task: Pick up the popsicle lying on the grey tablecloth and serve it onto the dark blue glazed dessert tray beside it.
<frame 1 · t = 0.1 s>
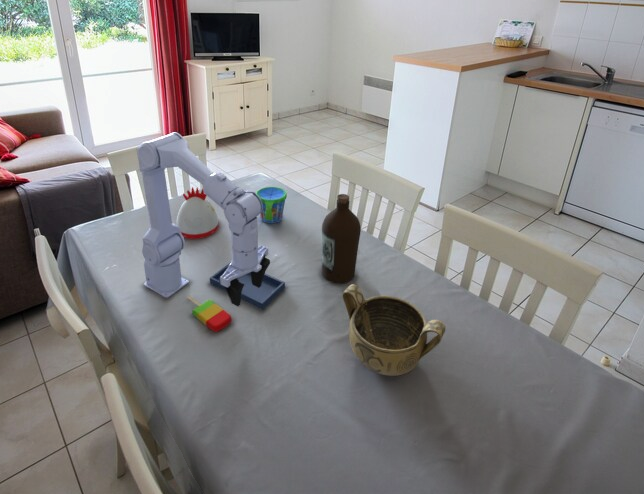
hand: (246, 294, 100), 10 cm above the table, tool pointing down, fingers open, 7 cm apart
ceramic bowl: (384, 359, 96), on the table
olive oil: (337, 274, 124), on the table
popsicle: (205, 313, 108), on the table
tray: (247, 285, 118), on the table
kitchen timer: (197, 227, 145), on the table
snack cup: (271, 219, 151), on the table
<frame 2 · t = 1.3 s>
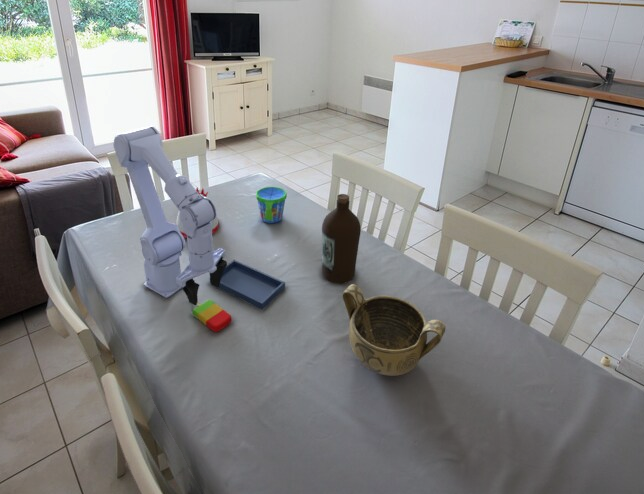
hand: (204, 294, 106), 6 cm above the table, tool pointing down, fingers open, 7 cm apart
nothing on the table moved.
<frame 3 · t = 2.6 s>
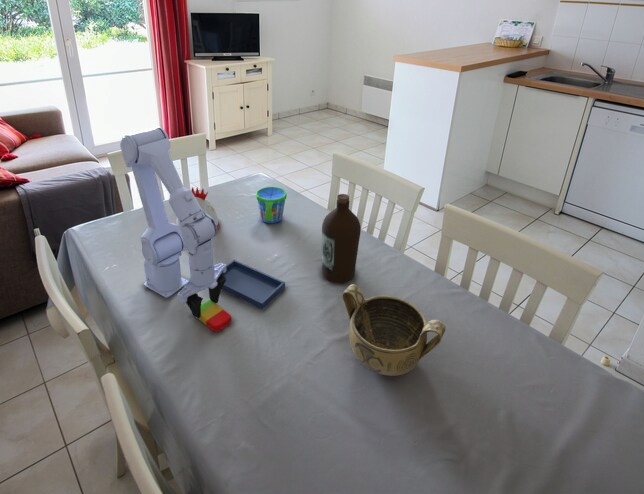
hand: (205, 308, 107), 1 cm above the table, tool pointing down, fingers closed on popsicle, 6 cm apart
popsicle: (205, 313, 108), on the table, touching gripper
everything else where it was.
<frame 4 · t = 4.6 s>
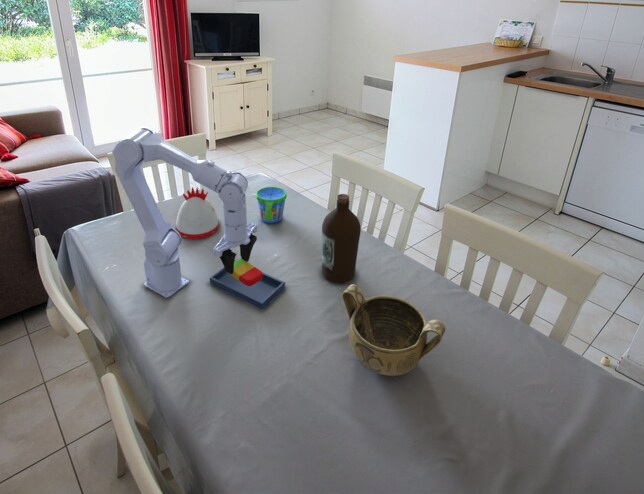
hand: (237, 266, 112), 8 cm above the table, tool pointing down, fingers closed on popsicle, 6 cm apart
popsicle: (237, 271, 113), point 7 cm above the table, touching gripper
everything else where it was.
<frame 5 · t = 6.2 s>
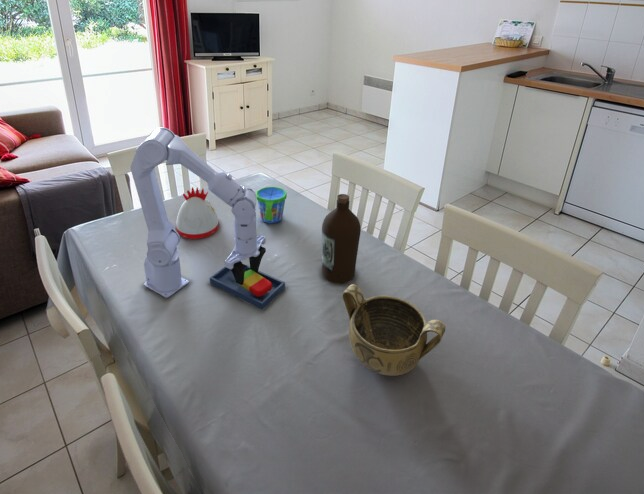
hand: (247, 276, 117), 3 cm above the table, tool pointing down, fingers closed on popsicle, 6 cm apart
popsicle: (247, 281, 117), point 1 cm above the table, touching gripper
everything else where it was.
when the fingers open (2 cm above the table, at t = 7.1 s): popsicle stays where it is, resting on tray.
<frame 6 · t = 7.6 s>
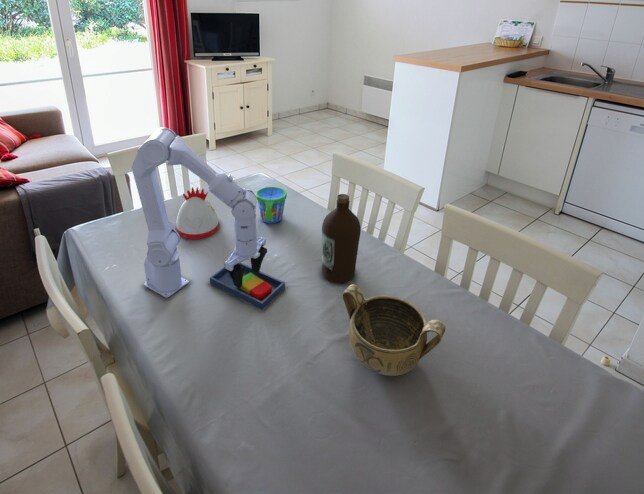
hand: (247, 278, 117), 3 cm above the table, tool pointing down, fingers open, 7 cm apart
popsicle: (247, 285, 118), resting on tray
everything else where it was.
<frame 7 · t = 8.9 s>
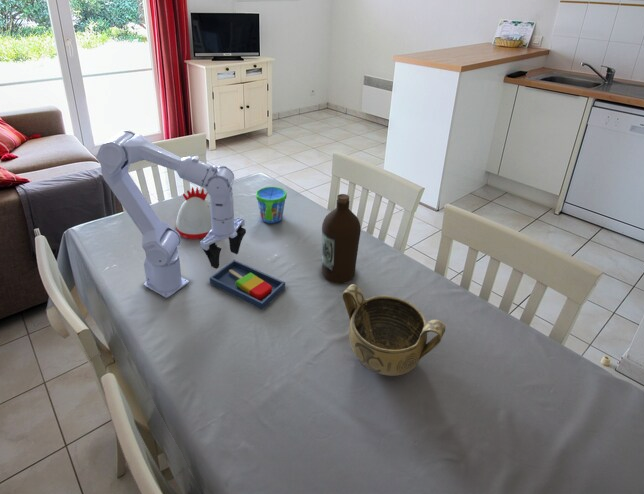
hand: (225, 259, 113), 9 cm above the table, tool pointing down, fingers open, 7 cm apart
nothing on the table moved.
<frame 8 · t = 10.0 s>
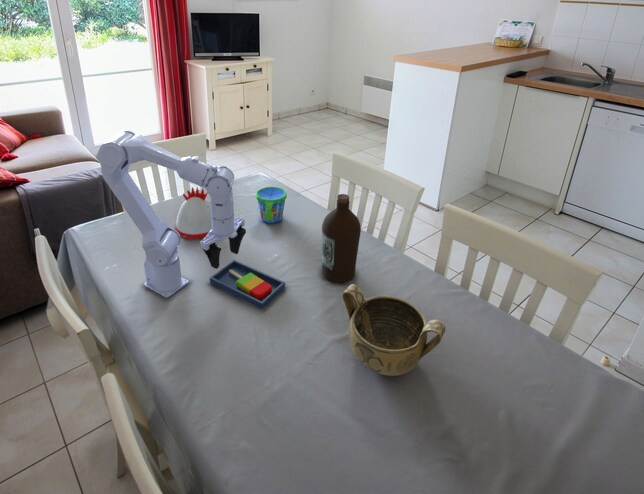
hand: (225, 259, 113), 9 cm above the table, tool pointing down, fingers open, 7 cm apart
nothing on the table moved.
at the end: popsicle inside the target area in the tray (0.1 cm from its centre), point 0.3 cm above the tray's base; the gripper is holding nothing; popsicle tilted 0° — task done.
